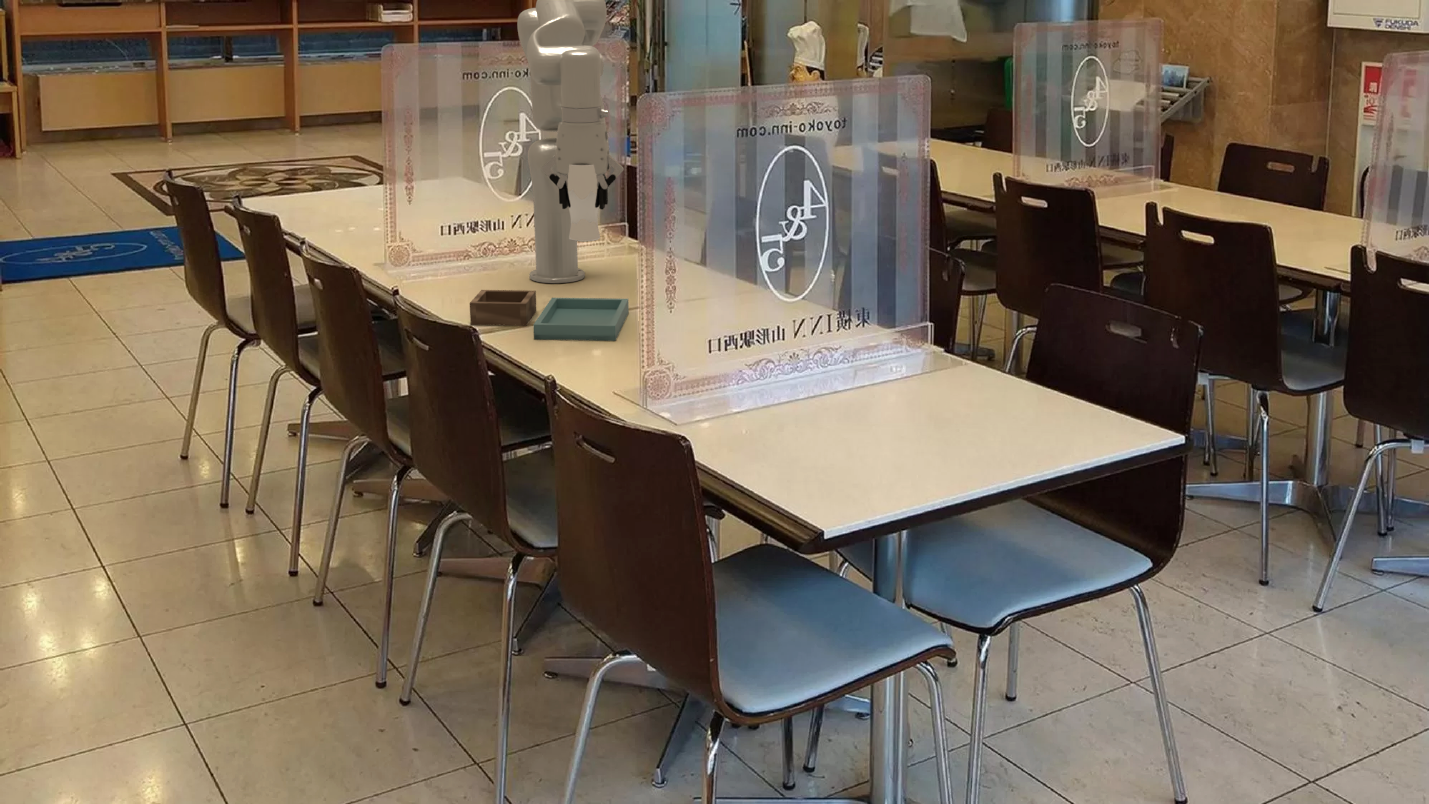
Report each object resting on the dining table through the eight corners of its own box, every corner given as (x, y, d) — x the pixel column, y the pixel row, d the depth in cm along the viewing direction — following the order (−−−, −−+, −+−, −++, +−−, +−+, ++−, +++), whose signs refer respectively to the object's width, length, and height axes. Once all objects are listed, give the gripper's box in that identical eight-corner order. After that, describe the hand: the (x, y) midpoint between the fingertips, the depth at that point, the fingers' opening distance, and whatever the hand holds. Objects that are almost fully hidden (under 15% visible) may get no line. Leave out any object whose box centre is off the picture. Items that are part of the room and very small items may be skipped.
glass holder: (482, 310, 312) (481, 289, 311) (536, 311, 311) (535, 290, 310) (470, 324, 301) (469, 303, 300) (526, 325, 301) (525, 304, 299)
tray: (552, 311, 312) (551, 297, 311) (628, 312, 311) (628, 298, 310) (533, 339, 291) (533, 324, 290) (615, 340, 290) (615, 325, 289)
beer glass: (596, 243, 290) (595, 165, 286) (562, 241, 292) (560, 164, 287) (606, 235, 297) (605, 160, 292) (572, 234, 298) (570, 159, 293)
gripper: (628, 113, 290) (630, 205, 295) (539, 113, 291) (543, 204, 296) (623, 118, 283) (625, 212, 288) (533, 118, 284) (536, 211, 289)
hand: (583, 207), depth 292 cm, fingers closed on beer glass, 6 cm apart
